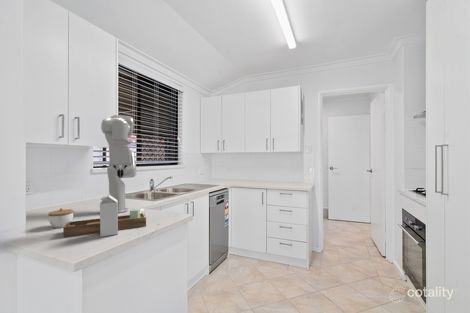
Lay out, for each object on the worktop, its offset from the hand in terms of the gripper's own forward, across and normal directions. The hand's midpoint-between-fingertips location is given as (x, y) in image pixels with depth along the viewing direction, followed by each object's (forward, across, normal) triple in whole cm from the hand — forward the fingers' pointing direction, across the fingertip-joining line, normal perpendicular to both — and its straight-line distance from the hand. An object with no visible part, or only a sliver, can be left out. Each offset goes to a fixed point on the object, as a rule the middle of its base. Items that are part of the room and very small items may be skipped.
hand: (120, 177), depth 123 cm
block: (+22, -7, +6) cm, 24 cm away
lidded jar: (+26, +28, -10) cm, 40 cm away
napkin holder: (+26, -9, -4) cm, 28 cm away
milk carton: (+25, +4, +16) cm, 30 cm away
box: (+25, +6, +7) cm, 27 cm away
